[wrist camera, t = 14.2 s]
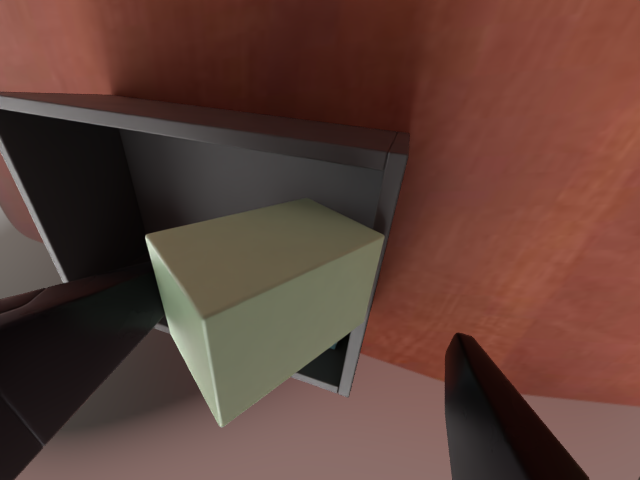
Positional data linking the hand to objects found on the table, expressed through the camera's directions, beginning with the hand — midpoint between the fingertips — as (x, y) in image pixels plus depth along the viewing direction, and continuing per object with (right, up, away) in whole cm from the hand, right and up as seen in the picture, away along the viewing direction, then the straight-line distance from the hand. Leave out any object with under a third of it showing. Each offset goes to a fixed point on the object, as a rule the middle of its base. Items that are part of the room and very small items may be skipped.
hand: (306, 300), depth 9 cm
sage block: (+1, +1, +2) cm, 3 cm away
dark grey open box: (-5, +4, +10) cm, 12 cm away
